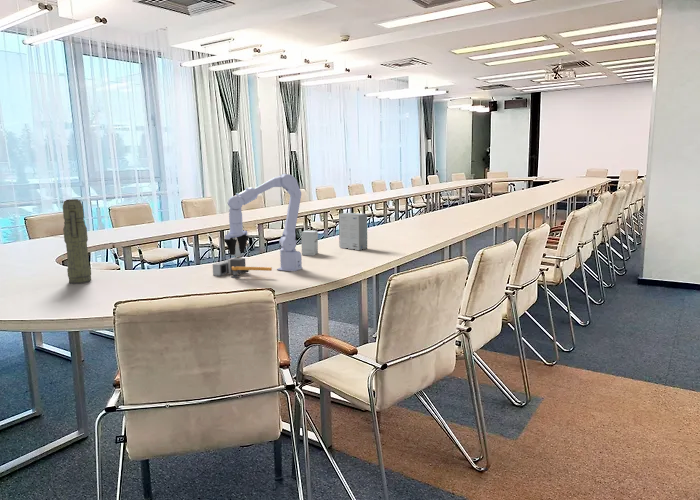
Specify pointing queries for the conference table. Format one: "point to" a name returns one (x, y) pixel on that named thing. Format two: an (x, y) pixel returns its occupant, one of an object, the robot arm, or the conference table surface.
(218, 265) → the socket
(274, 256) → the conference table surface
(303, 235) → the supplement box
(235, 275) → the lever handle base
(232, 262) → the plug
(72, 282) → the carved stone statue
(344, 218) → the hard drive box
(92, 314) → the conference table surface
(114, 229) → the conference table surface
